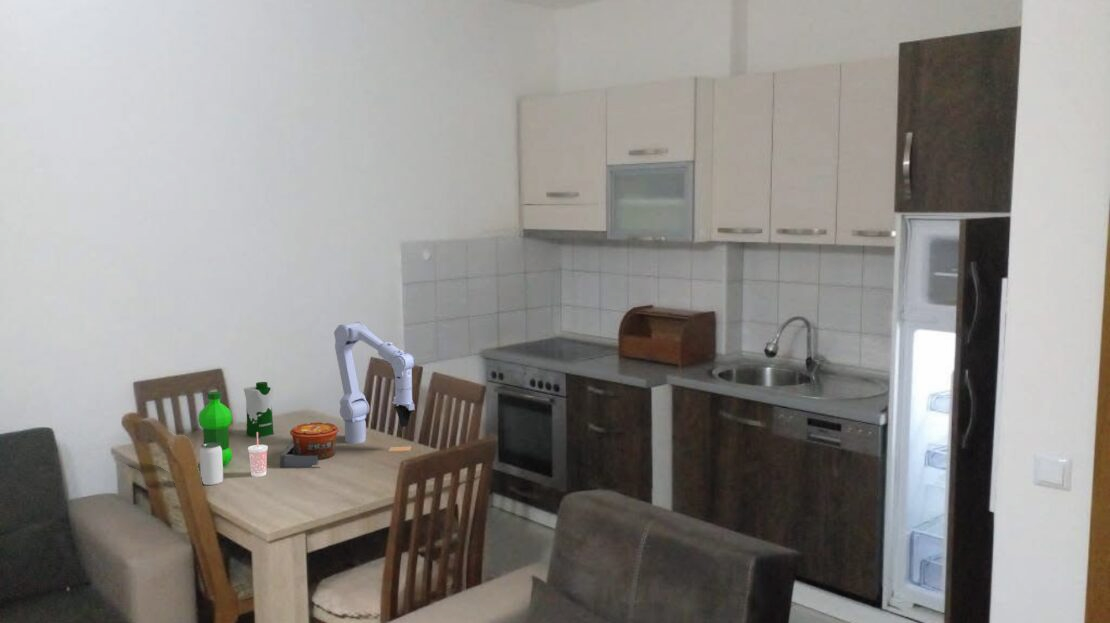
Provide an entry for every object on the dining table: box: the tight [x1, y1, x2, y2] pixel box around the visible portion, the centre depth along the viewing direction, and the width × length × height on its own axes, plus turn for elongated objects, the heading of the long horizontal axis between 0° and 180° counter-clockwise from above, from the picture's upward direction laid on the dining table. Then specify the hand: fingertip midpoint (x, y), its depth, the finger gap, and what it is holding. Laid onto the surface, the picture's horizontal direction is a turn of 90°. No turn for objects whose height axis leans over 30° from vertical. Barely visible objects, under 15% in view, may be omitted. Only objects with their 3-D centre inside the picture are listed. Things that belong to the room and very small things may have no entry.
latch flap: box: [387, 446, 412, 452], centre depth 308 cm, size 5×8×1 cm, turn 92°
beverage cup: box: [247, 432, 269, 478], centre depth 281 cm, size 6×6×14 cm
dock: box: [279, 442, 319, 469], centre depth 299 cm, size 22×12×4 cm, turn 2°
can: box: [199, 443, 224, 486], centre depth 272 cm, size 6×6×12 cm
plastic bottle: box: [198, 390, 233, 469], centre depth 287 cm, size 10×10×25 cm
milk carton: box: [243, 381, 274, 438], centre depth 327 cm, size 9×9×20 cm
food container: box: [289, 421, 339, 461], centre depth 299 cm, size 16×16×11 cm
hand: (404, 426), depth 306 cm, fingers closed
